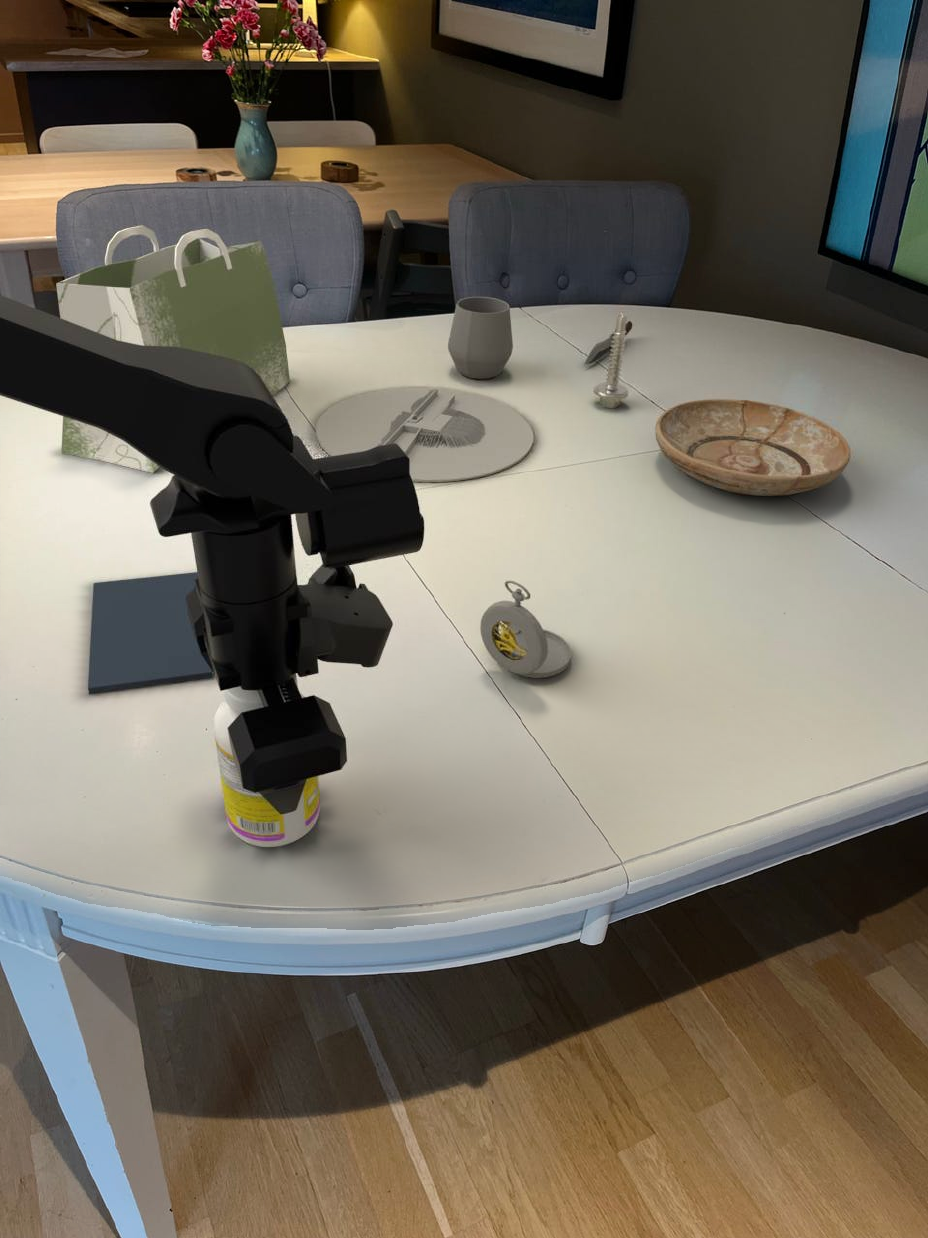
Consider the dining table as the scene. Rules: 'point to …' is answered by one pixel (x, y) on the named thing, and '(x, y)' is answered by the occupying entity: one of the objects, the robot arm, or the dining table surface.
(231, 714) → the supplement bottle
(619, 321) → the screw
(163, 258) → the grocery bag
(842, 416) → the dining table surface
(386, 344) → the dining table surface
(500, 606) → the pocket watch
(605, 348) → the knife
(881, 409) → the dining table surface
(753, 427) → the ceramic bowl
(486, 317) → the cup
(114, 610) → the placemat
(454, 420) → the plate
